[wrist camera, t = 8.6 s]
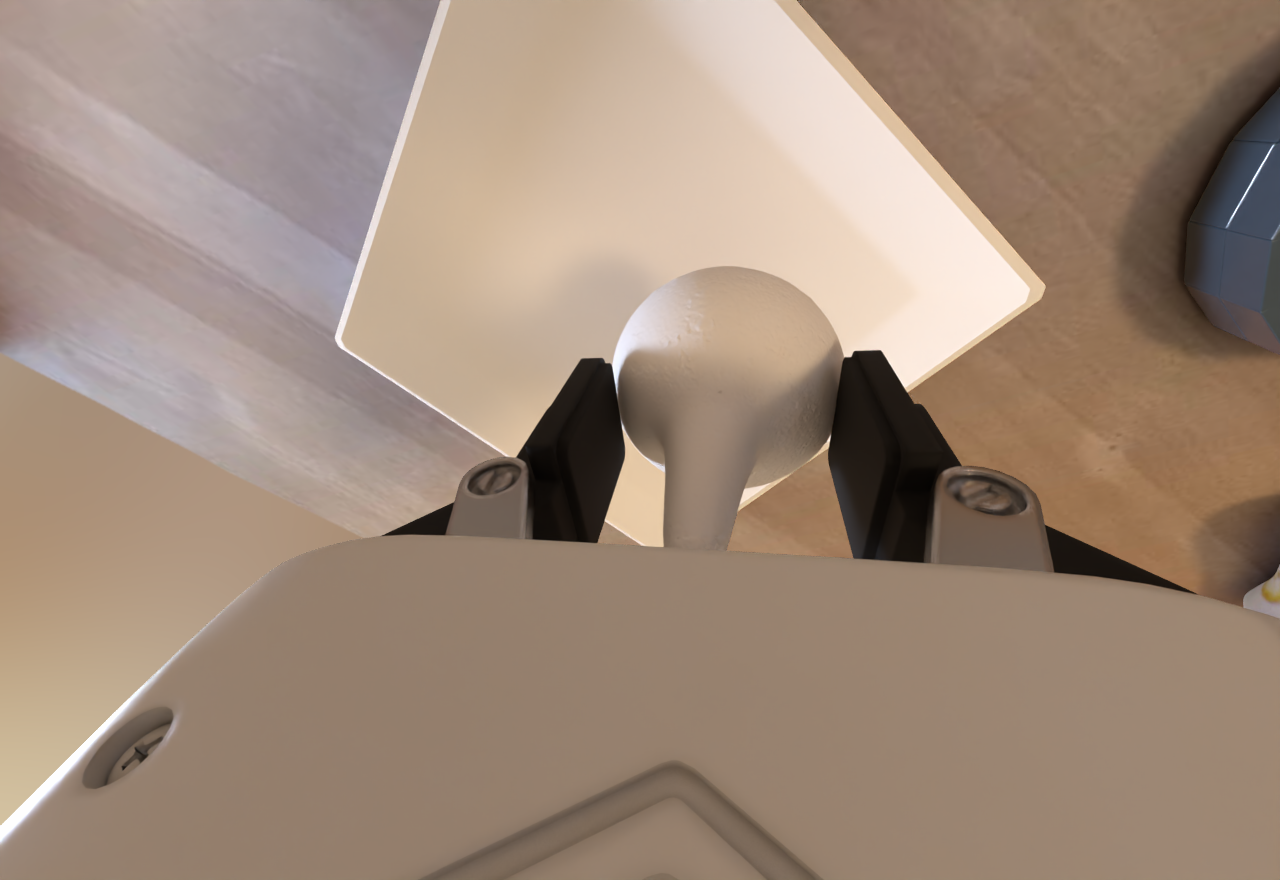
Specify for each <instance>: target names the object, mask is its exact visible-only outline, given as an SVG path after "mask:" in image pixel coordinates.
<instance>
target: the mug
mask: <svg viewBox="0 0 1280 880" xmlns="http://www.w3.org/2000/svg"><path fill="white" fill-rule="evenodd" d="M1243 605H1244V608H1247V609H1251V610H1254V611H1258V612H1261V613H1264V614H1268V615H1270V616H1273V617H1276V618H1279V619H1280V565H1279V567H1278V570H1277V572H1276V573H1275V575H1274V576H1273V577H1272V578H1271V579H1269V580H1268V581H1266V582H1264V583H1262V584H1261V585H1259V586H1257V587H1255V588H1253V589H1252V590H1250V591H1249V592H1248V593H1246V595H1245V596H1244V599H1243Z"/></svg>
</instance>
